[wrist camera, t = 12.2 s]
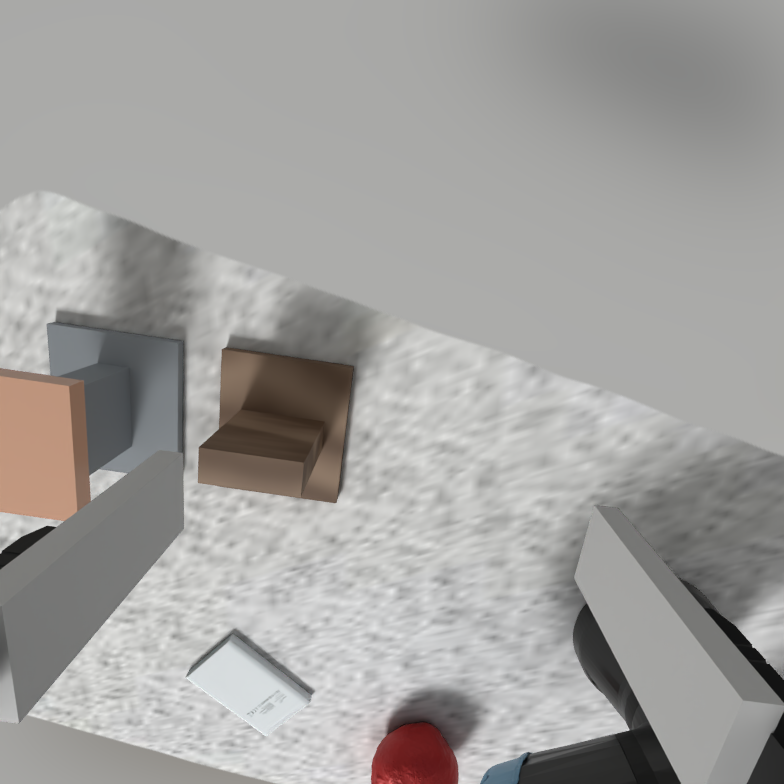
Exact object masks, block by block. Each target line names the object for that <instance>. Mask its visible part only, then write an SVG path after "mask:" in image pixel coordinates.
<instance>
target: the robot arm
mask: <svg viewBox="0 0 784 784" xmlns="http://www.w3.org/2000/svg"><path fill="white" fill-rule="evenodd" d="M183 529H184V492H183V453H179V452H171V451H163V450H159V451H157V452H156V453H155V454H153V455H152V456H151V457H149V458H148V459H147V460H145V461H144V462H143V463H141V464H140V465H139V466H137V467H136V468H135V469H133V470H132V471H131V472H129V473H128V474H127V475H125V476H124V477H123V478H121V479H120V480H119V481H117V482H116V483H115V484H113V485H112V486H111V487H109V488H108V489H107V490H105V491H104V492H103V493H101V494H100V495H99V496H97V497H96V498H95V499H93V500H92V501H91V502H89V503H88V504H87V505H85V506H84V507H83V508H81V509H80V510H79V511H77V512H76V513H75V514H73V515H72V516H71V517H69V518H68V519H67V520H65V521H64V522H63V523H61V524H60V525H59V526H57V527H52V526H46V527H43V528H41V529H39V530H36V531H34V532H32V533H30V534H27V535H25V536H23V537H21V538H20V539H18V540H17V541H15V542H14V543H13V544H11V545H10V546H8V547H7V548H5V549H4V550H3V551H2V553H1V554H0V721H3V722H10V723H18V724H19V723H20V722H21V720H22V719H23V718H24V717H25V716H26V715H27V714H28V712H29V711H30V710H31V709H32V708H33V707H34V705H35V704H36V703H37V702H38V701H39V699H40V698H41V697H42V696H43V695H44V694H45V692H46V691H47V690H48V689H49V688H50V686H51V685H52V684H53V683H54V682H55V680H56V679H57V678H58V677H59V676H60V675H61V673H62V672H63V671H64V670H65V669H66V667H67V666H68V665H69V664H70V663H71V662H72V660H73V659H74V658H75V657H76V656H77V654H78V653H79V652H80V651H81V650H82V649H83V647H84V646H85V645H86V644H87V643H88V641H89V640H90V639H91V638H92V637H93V636H94V634H95V633H96V632H97V631H98V630H99V628H100V627H101V626H102V625H103V624H104V622H105V621H106V620H107V619H108V618H109V617H110V615H111V614H112V613H113V612H114V611H115V609H116V608H117V607H118V606H119V605H120V604H121V602H122V601H123V600H124V599H125V598H126V596H127V595H128V594H129V593H130V592H131V591H132V589H133V588H134V587H135V586H136V585H137V583H138V582H139V581H140V580H141V579H142V578H143V576H144V575H145V574H146V573H147V572H148V570H149V569H150V568H151V567H152V566H153V565H154V563H155V562H156V561H157V560H158V559H159V557H160V556H161V555H162V554H163V553H164V551H165V550H166V549H167V548H168V547H169V546H170V544H171V543H172V542H173V541H174V540H175V538H176V537H177V536H178V535H179V534H180V533H181V531H182V530H183ZM574 579H575V581H576V583H577V585H578V587H579V589H580V591H581V593H582V594H583V596H584V598H585V600H586V602H587V604H586V605H585V606H584V608H583V609H582V611H581V612H580V614H579V616H578V618H577V620H576V623H575V627H574V632H573V643H574V648H575V652H576V654H577V657H578V659H579V661H580V663H581V666H582V668H583V670H584V672H585V674H586V676H587V677H588V679H589V680H590V681H591V682H592V684H593V685H594V686H595V687H596V688H597V689H598V690H599V691H600V692H602V693H603V694H604V695H605V696H606V698H607V699H608V700H609V701H610V703H611V704H612V705H613V706H614V708H615V709H616V710H617V712H618V713H619V714H620V715H621V716H622V717H623V719H624V720H625V721H626V723H627V725H628V727H629V729H630V731H626V732H622V733H618V734H615V735H614V734H612V735H608V736H604V737H600V738H596V739H592V740H588V741H584V742H580V743H576V744H572V745H568V746H563V747H559V748H554V749H550V750H546V751H541V752H537V753H530V752H527V753H524V754H523V755H521V756H520V757H519V758H516V759H513V760H510V761H507V762H504V763H501V764H497V765H495V766H493V767H491V768H490V769H489V770H488V771H487V772H486V773H485V774H484V776H483V778H482V781H481V783H480V784H784V680H783V679H782V678H781V677H780V675H779V674H778V673H777V672H776V671H775V670H774V669H773V668H772V666H771V665H770V664H766V660H765V659H764V658H763V656H762V655H761V654H760V653H759V652H758V651H757V650H756V649H755V648H752V644H751V643H750V642H749V641H748V640H747V639H746V637H745V636H744V635H743V634H742V633H741V632H740V631H739V630H738V629H737V627H736V626H735V625H733V624H732V623H731V622H729V621H728V620H727V619H725V618H724V617H723V616H721V615H720V614H719V612H718V611H717V610H716V608H715V607H714V606H713V605H712V604H711V603H710V602H709V600H708V599H707V598H706V597H705V596H704V595H703V594H702V593H701V592H700V591H699V590H698V589H697V588H695V587H694V586H692V585H691V584H689V583H687V582H685V581H682V580H680V579H678V578H677V577H676V576H675V574H674V573H673V572H672V571H671V570H670V568H669V567H668V566H667V565H666V564H665V563H664V561H663V560H662V559H661V558H660V557H659V556H658V554H657V553H656V552H655V551H654V550H653V548H652V547H651V546H650V545H649V544H648V543H647V541H646V540H645V539H644V538H643V537H642V536H641V534H640V533H639V532H638V531H637V530H636V528H635V527H634V526H633V525H632V524H631V523H630V521H629V520H628V519H627V518H626V517H625V516H624V514H623V513H622V512H621V511H620V510H619V508H614V507H606V506H598V505H594V507H593V511H592V514H591V518H590V522H589V525H588V529H587V533H586V536H585V540H584V543H583V547H582V551H581V554H580V558H579V561H578V565H577V569H576V572H575V576H574Z"/></svg>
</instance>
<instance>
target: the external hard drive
mask: <svg viewBox="0 0 784 784" xmlns="http://www.w3.org/2000/svg"><path fill="white" fill-rule="evenodd" d="M185 678H186V679H188V680H189V681H190V682H192V683H193V684H194V685H196V686H197V687H199V688H200V689H201V690H203V691H204V692H205V693H207V694H208V695H210V696H211V697H212V698H214V699H215V700H216V701H218V702H219V703H221V704H222V705H223V706H225V707H226V708H227V709H229V710H230V711H232V712H233V713H234V714H236V715H237V716H239V717H240V718H241V719H243V720H244V721H245V722H247V723H248V724H250V725H251V726H252V727H254V728H255V729H257V730H258V731H259V732H260V733H262V734H263V735H265V736H268V735H269V734H270V733H272V732H273V731H274V730H275V729H277V728H278V727H279V726H281V725H282V724H283V723H285V722H286V721H287V720H289V719H290V718H291V717H293V716H294V715H295V714H297V713H298V712H299V711H300V710H302V709H303V708H304V707H306V706H307V705H308V704H309V703H310V701H311V696H312V695H311V694H310V693H308V692H307V691H306V690H304V689H303V688H302V687H301V686H299V685H298V684H297V683H295V682H294V681H293V680H292V679H290V678H289V677H288V676H287V675H285V674H284V673H283V672H282V671H280V670H279V669H278V668H276V667H275V666H274V665H273V664H271V663H270V662H269V661H267V660H266V659H265V658H264V657H262V656H261V655H260V654H258V653H257V652H256V651H255V650H253V649H252V648H251V647H250V646H248V645H247V644H246V643H244V642H243V641H242V640H241V639H239V638H238V637H237V636H235V635H234V634H231V635H230V636H229V637H228V638H227V639H225V640H224V641H223V642H222V643H221V644H220V645H218V646H217V647H216V648H215V649H214V650H213V651H211V652H210V653H209V654H208V655H207V656H206V657H204V658H203V659H202V660H201V661H200V662H199V663H197V664H196V665H195V666H194V667H193V668H192V669H190V670H189V672H188V674H187V676H186V677H185Z"/></svg>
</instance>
